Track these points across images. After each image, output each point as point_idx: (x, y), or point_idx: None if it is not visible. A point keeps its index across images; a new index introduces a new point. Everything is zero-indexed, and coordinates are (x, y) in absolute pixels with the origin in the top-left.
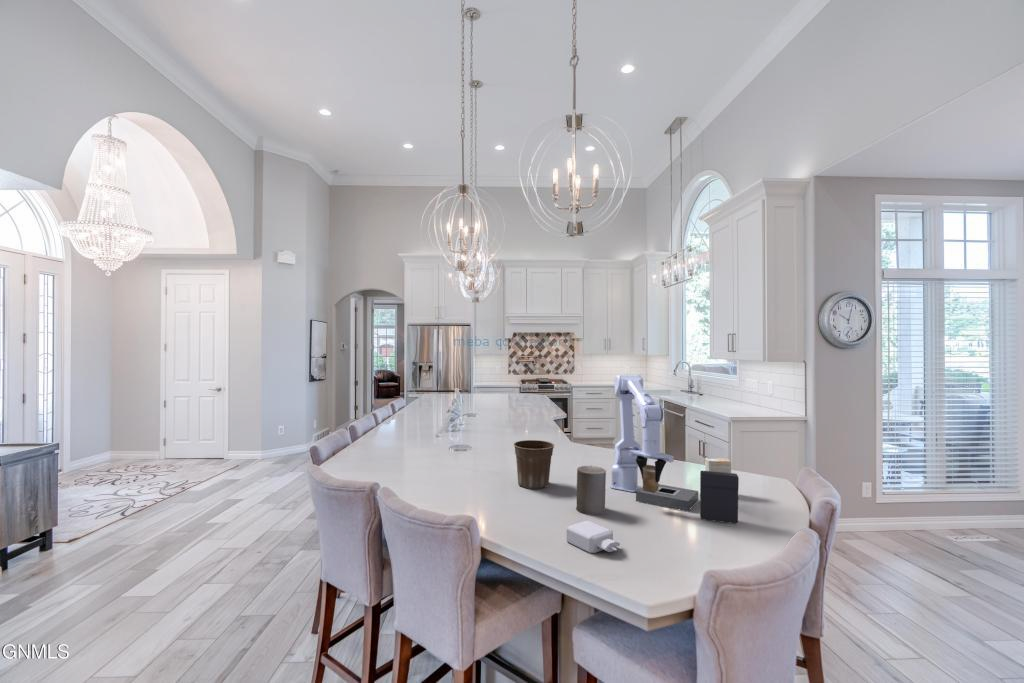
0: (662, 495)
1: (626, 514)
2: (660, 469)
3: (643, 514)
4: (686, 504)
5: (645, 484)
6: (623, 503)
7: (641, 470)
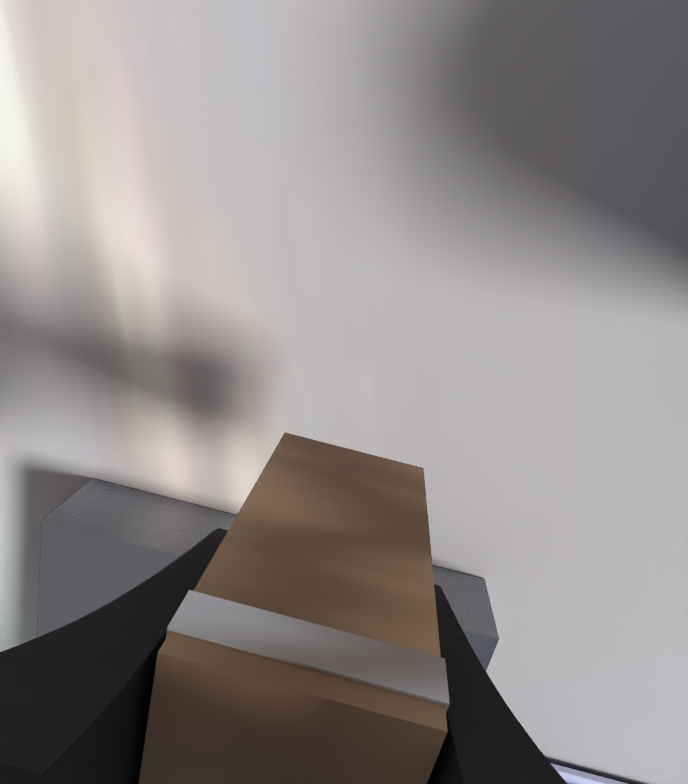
0: None
1: (550, 217)
2: (38, 653)
3: (400, 282)
4: (72, 507)
5: (390, 500)
6: (585, 496)
7: (474, 688)
